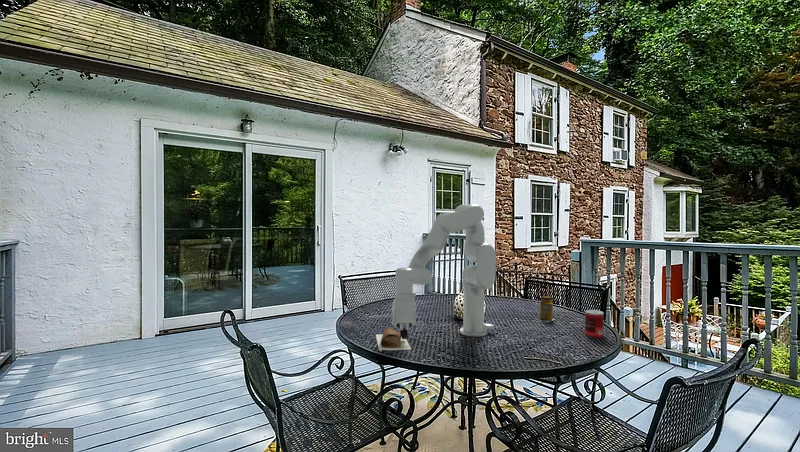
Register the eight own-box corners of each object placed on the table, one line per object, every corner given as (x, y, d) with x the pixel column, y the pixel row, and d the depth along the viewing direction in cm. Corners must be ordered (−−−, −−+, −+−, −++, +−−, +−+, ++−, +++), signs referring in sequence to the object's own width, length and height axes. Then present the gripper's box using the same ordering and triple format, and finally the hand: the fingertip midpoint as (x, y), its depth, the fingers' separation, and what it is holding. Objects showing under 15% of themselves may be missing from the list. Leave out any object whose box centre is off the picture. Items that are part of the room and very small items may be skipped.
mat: (403, 333, 182) (403, 333, 182) (411, 349, 162) (411, 349, 162) (375, 334, 181) (375, 334, 181) (379, 350, 160) (379, 350, 160)
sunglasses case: (401, 346, 163) (393, 332, 163) (386, 355, 163) (378, 341, 163) (402, 333, 181) (395, 321, 181) (389, 341, 181) (382, 328, 181)
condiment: (555, 319, 208) (555, 296, 208) (548, 322, 203) (548, 299, 202) (542, 316, 214) (542, 294, 213) (534, 319, 208) (535, 297, 207)
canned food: (602, 334, 184) (603, 310, 183) (603, 339, 176) (604, 314, 176) (584, 331, 187) (585, 308, 186) (584, 336, 180) (585, 312, 179)
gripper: (419, 294, 176) (419, 335, 176) (386, 295, 174) (385, 336, 174) (422, 297, 168) (422, 340, 169) (387, 298, 166) (387, 341, 167)
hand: (403, 338), depth 172 cm, fingers closed
